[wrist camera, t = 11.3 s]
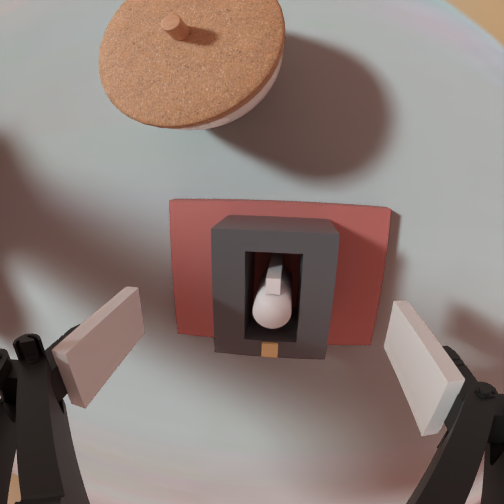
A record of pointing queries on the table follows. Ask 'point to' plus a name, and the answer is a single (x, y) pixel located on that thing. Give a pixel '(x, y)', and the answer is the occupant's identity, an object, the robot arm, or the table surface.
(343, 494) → the table surface
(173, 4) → the lidded jar
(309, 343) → the hollow frame block
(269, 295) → the plate
